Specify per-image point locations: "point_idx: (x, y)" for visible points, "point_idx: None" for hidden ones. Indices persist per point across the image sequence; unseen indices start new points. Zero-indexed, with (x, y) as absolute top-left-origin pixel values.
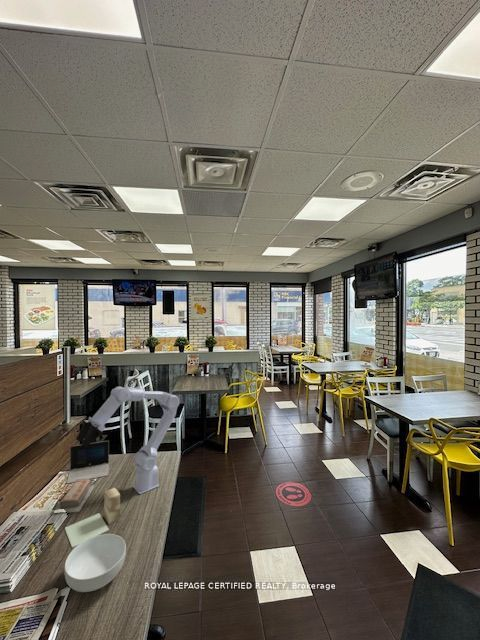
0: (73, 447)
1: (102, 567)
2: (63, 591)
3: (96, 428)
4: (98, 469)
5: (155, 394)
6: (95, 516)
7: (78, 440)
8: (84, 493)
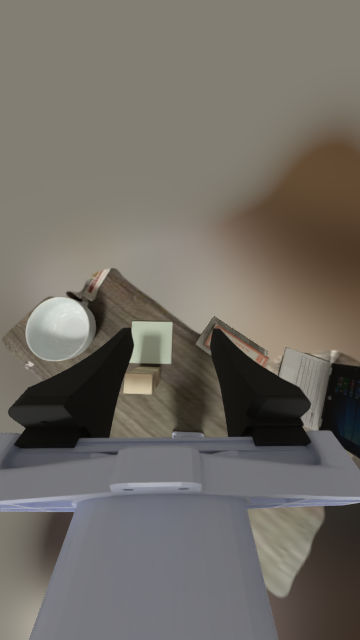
0: None
1: (77, 337)
2: (84, 303)
3: (47, 428)
4: None
5: None
6: (167, 357)
7: (211, 337)
8: None
